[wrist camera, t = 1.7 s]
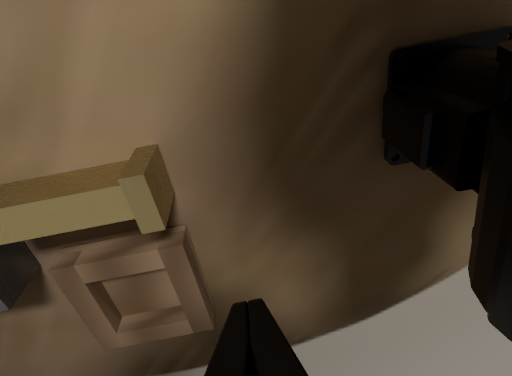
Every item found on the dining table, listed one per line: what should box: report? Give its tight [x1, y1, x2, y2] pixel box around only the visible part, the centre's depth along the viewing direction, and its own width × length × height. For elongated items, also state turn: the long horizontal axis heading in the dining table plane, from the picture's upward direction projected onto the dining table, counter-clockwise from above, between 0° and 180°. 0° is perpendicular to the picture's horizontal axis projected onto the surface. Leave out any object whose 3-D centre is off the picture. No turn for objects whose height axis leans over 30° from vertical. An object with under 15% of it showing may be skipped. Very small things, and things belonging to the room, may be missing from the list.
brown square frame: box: [49, 225, 215, 351], centre depth 21 cm, size 8×8×2 cm
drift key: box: [0, 144, 175, 245], centre depth 16 cm, size 9×3×4 cm, turn 100°
